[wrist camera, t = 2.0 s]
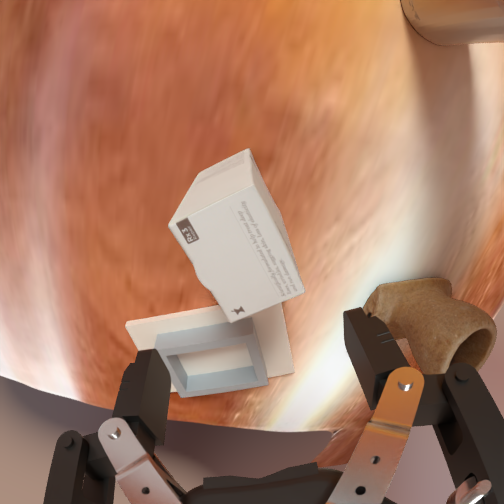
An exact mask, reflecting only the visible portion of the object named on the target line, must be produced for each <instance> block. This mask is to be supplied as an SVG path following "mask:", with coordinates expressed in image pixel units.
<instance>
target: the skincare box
mask: <svg viewBox="0 0 504 504" xmlns="http://www.w3.org/2000/svg"><path fill="white" fill-rule="evenodd" d="M168 227H169V229H170V230H171V232H172V233H173V235H174V236H175V238H176V240H177V241H178V243H179V244H180V245H181V247H182V249H183V250H184V252H185V253H186V255H187V256H188V258H189V259H190V261H191V263H192V264H193V266H194V268H195V271H196V275H197V277H198V279H199V280H200V282H201V283H202V284H203V285H204V286H205V287H206V288H207V289H209V290H210V292H211V293H212V295H213V296H214V298H215V299H216V301H217V302H218V304H219V306H220V307H221V309H222V311H223V313H224V315H225V316H226V318H227V320H228V321H229V322H230V323H234V322H236V321H238V320H240V319H243V318H246V317H248V316H250V315H253V314H255V313H258V312H260V311H262V310H265V309H267V308H269V307H271V306H274V305H276V304H279V303H281V302H284V301H286V300H289V299H292V298H294V297H296V296H299V295H301V294H303V293H305V288H304V285H303V283H302V280H301V277H300V274H299V270H298V267H297V264H296V261H295V257H294V254H293V251H292V248H291V244H290V241H289V238H288V235H287V232H286V229H285V225H284V222H283V219H282V216H281V213H280V211H279V209H278V207H277V206H276V204H275V202H274V200H273V198H272V196H271V195H270V193H269V191H268V189H267V187H266V185H265V182H264V180H263V178H262V176H261V174H260V172H259V170H258V167H257V165H256V163H255V161H254V158H253V156H252V153H251V151H250V149H249V148H248V149H246V150H243V151H241V152H239V153H237V154H235V155H233V156H231V157H229V158H227V159H225V160H223V161H221V162H219V163H217V164H215V165H213V166H211V167H209V168H207V169H205V170H203V171H201V172H200V173H198V175H197V177H196V178H195V180H194V182H193V183H192V185H191V187H190V188H189V190H188V192H187V193H186V195H185V197H184V198H183V200H182V202H181V204H180V205H179V207H178V209H177V211H176V212H175V214H174V216H173V217H172V219H171V221H170V222H169V224H168Z"/></svg>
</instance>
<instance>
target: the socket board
mask: <svg viewBox="0 0 504 504" xmlns="http://www.w3.org/2000/svg"><path fill="white" fill-rule="evenodd" d="M125 327H126V329H127V331H128V332H129V334H130V336H131V338H132V340H133V341H134V343H135V345H136V347H137V348H138V350H139V351H140V350H147V349H154V348H155V349H157V351H158V352H159V354H160V356H161V358H162V360H163V361H164V363H165V365H166V367H167V369H168V370H169V373H170V376H171V391H170V392H178V393H179V395H180V397H181V398H183V397H192V396H200V395H208V394H216V393H223V392H229V391H236V390H242V389H248V388H254V387H260V386H265V385H269V383H268V378H270V377H275V376H280V375H285V374H290V373H295V370H294V365H293V360H292V355H291V349H290V344H289V339H288V334H287V329H286V324H285V318H284V313H283V308H282V303H279V304H276V305H274V306H271V307H269V308H267V309H265V310H262V311H260V312H258V313H255V314H253V315H250V316H248V317H246V318H243V319H240V320H238V321H236V322H234V323H230V322H229V321H228V320H227V318H226V316H225V315H224V313H223V311H222V309H221V307H220V306H219V305H215V306H210V307H205V308H199V309H194V310H189V311H183V312H178V313H172V314H167V315H161V316H156V317H150V318H144V319H138V320H132V321H127V322H126V325H125Z"/></svg>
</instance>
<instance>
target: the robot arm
mask: <svg viewBox="0 0 504 504" xmlns="http://www.w3.org/2000/svg"><path fill="white" fill-rule="evenodd" d="M401 3H402V7H403V10H404V13H405V15H406V17H407V19H408V20H409V22H410V23H411V25H412V26H413V27H414V29H415V30H416V31H417V32H418V33H419V34H420V35H421V36H423V37H424V38H425V39H427V40H428V41H430V42H432V43H435V44H438V45H443V46H448V45H459V44H474V43H496V42H504V0H401ZM343 318H344V340H345V346H346V349H347V352H348V355H349V357H350V359H351V362H352V364H353V367H354V369H355V372H356V374H357V377H358V379H359V382H360V384H361V387H362V389H363V392H364V394H365V397H366V399H367V402H368V405H369V407H370V410H374V409H376V410H375V412H374V415H373V417H372V419H371V421H369V422H368V423H367V425H366V427H365V429H364V432H363V434H362V436H361V438H360V440H359V442H358V444H357V447H356V449H355V451H354V453H353V455H352V457H351V459H350V461H349V463H348V465H347V467H346V469H345V470H344V472H341V471H338V470H334V469H328V468H318V466H317V462H314V463H309V464H304V465H300V466H295V467H289V468H286V469H284V470H281V471H279V472H276V473H274V474H271V475H269V476H266V477H263V478H259V479H256V478H246V477H236V476H221V477H209V478H204V480H203V481H204V482H203V485H200V486H198V487H196V488H194V489H192V490H190V491H188V492H186V491H185V490H184V489H183V488H182V487H181V486H180V485H179V483H178V482H177V481H176V480H175V479H174V477H173V476H172V475H171V474H170V472H169V471H168V470H167V469H166V467H165V466H164V465H163V463H162V462H161V461H160V459H159V458H158V457H157V455H156V454H155V453H154V448H155V446H157V445H164V440H165V431H166V421H167V414H168V406H169V398H170V391H171V376H170V373H169V370H168V369H167V367H166V365H165V363H164V361H163V360H162V358H161V356H160V354H159V352H158V351H157V349H155V348H154V349H147V350H140V351H138V353H137V357H136V360H135V363H130V365H129V366H128V367H127V369H126V370H125V371H124V374H123V378H122V381H121V382H122V383H121V385H120V388H119V389H120V391H119V392H118V396H117V400H116V404H115V407H114V411H113V415H112V418H111V419H109V420H107V421H105V422H104V423H103V424H102V425H101V427H100V429H99V431H98V432H96V433H93V434H89V435H86V436H81V435H80V434H79V433H78V432H77V431H74V430H70V431H67V432H65V433H64V434H62V435H61V436H60V437H59V439H58V440H57V443H56V447H55V451H54V455H53V459H52V464H51V468H50V473H49V477H48V482H47V487H46V492H45V497H44V503H43V504H113V500H114V489H115V479H116V480H117V482H118V484H119V485H120V487H121V489H122V490H123V492H124V494H125V495H126V497H127V498H128V500H129V502H130V503H131V504H397V503H395V502H393V501H391V500H389V499H388V498H386V497H385V494H386V492H387V489H388V487H389V485H390V483H391V481H392V478H393V475H394V473H395V471H396V469H397V466H398V464H399V461H400V458H401V456H402V453H403V451H404V448H405V445H406V442H407V440H408V437H409V434H410V429H411V427H412V426H425V425H433V428H434V430H435V433H436V436H437V438H438V441H439V444H440V446H441V449H442V451H443V454H444V457H445V460H446V462H447V465H448V468H449V471H450V474H451V476H452V479H453V482H454V485H455V488H456V490H455V491H454V492H453V493H452V494H451V495H450V496H449V498H448V500H447V502H446V504H504V419H503V417H502V415H501V413H500V411H499V409H498V407H497V406H496V404H495V402H494V400H493V398H492V396H491V395H490V393H489V392H488V389H487V388H486V386H485V384H484V382H483V380H482V379H481V377H480V375H479V374H478V372H477V370H476V369H475V368H474V367H473V366H472V365H470V364H467V363H455V364H453V365H451V366H450V367H449V368H448V369H447V371H446V373H443V374H431V375H427V374H421V372H419V371H418V370H417V369H415V368H412V367H410V365H409V364H408V362H407V360H406V358H405V357H404V355H403V353H402V351H401V350H400V348H399V346H398V344H397V343H396V341H395V340H394V337H393V336H392V334H391V333H390V331H389V329H388V327H387V326H386V324H385V322H383V321H382V320H381V319H379V318H378V317H376V316H373V317H369V318H367V316H366V314H365V312H364V311H363V309H362V308H361V307H359V308H355V309H351V310H348V311H344V313H343ZM84 474H85V475H84ZM83 480H84V481H83ZM82 487H83V488H82Z"/></svg>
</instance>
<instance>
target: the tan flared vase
mask: <svg viewBox="0 0 504 504" xmlns="http://www.w3.org/2000/svg"><path fill="white" fill-rule="evenodd" d="M451 295H452V287H451V283H450V281H448V280H446V279H443V278H422V279H414V280H407V281H400V282H393V283H386V284H381V285H379V286H378V287H377V288H376V289H375V291H374V292H373V293H372V294H371V295H370V297H369V299H368V300H367V302H366V304H365V305H364V307H363V311H364V312H365V314H366V316H367V318H369V317H373V316H376V317H378V318H379V319H381V320H382V321H383V322H385V324H386V326H387V327H388V329H389V331H390V333H391V334H392V336H393V337H394V340H397V339H403V338H407V340H408V343H409V345H410V348H411V351H412V353H413V356H414V358H415V360H416V362H417V363H418V365H419V367H420V369H421V370H422V372H423V373H424V374H427V375H431V374H443V373H446V371H447V369H448V368H449V367H450V366H451V365H453V364H455V363H467V364H470V365H472V366H473V367H474V368H475V369H476V370H477V372H478V371H479V369H480V368H481V367H482V366H483V364H484V363H485V362H486V360H487V358H488V357H489V355H490V353H491V351H492V349H493V347H494V344H495V341H496V336H497V330H496V325H495V323H494V321H493V319H492V318H491V317H490V316H489V315H488V314H487V313H486V312H485V311H483V310H481V309H480V308H478V307H477V306H475V305H472V304H470V303H467V302H463V301H460V300H455V299H453V298H451Z"/></svg>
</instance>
